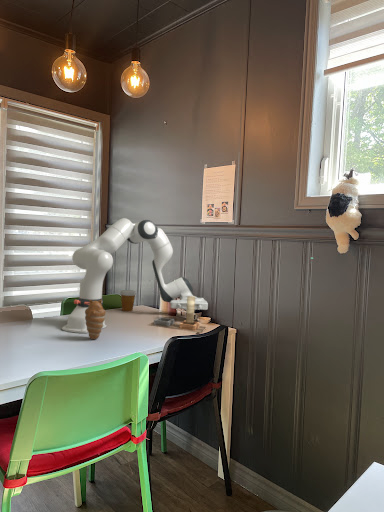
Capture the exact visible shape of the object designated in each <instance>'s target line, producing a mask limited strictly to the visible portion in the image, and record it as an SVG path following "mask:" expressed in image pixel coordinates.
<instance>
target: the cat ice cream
mask: <svg viewBox="0 0 384 512" xmlns="http://www.w3.org/2000/svg"><path fill="white" fill-rule="evenodd" d="M101 302H102V300H99V301H92V300H89V303H90V304H89V307H88V308H87V309H86V310H85V314H86V316H85V320H86V326H87V331H88V337H89V338H90V339H91V340H97V339H99V338H100V335H101V332H102V329H103V328H102V327H103V322H104V323H105V319H106V318H105V315H106V314H107V313H106V310H105V308H104V307H103V304H102V305H101ZM101 328H102V329H101Z"/></svg>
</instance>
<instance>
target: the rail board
mask: <svg viewBox="0 0 384 512" xmlns="http://www.w3.org/2000/svg"><path fill="white" fill-rule="evenodd" d="M147 326H151V327H157V328H164V329H172V330H179V331H187V332H192V333H195V335H197V334H200V333H201V334H202V333H203V332H204V331H205V330H206V329H205V328H207V327H206V326H201V324H200V322H199V321H194V325H190V324H186V319H185V320H183V321H181V322H180V323H179V322H175V318H170V317H169V318H168V317H162V316H160V317H157V318H156V319H154V320H153V321H152V322H151V323H149V324H147ZM204 329H205V330H204ZM203 330H204V331H203ZM202 331H203V332H202ZM201 334H200V335H201Z"/></svg>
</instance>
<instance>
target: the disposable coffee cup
mask: <svg viewBox="0 0 384 512" xmlns="http://www.w3.org/2000/svg"><path fill="white" fill-rule="evenodd" d="M119 294H120V296H121V297H120V298H121V299H120V300H121V310H122V311H123V312H126V313H127V312H133V309H134V304H135V298H136V295H137V293H136V290H132V289H122V290H120V293H119Z"/></svg>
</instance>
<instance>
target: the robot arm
mask: <svg viewBox="0 0 384 512" xmlns="http://www.w3.org/2000/svg"><path fill="white" fill-rule="evenodd" d="M126 241H128V242H129V243H131V244H132V245H133V244H134V245H136V244H140V243H143V242H146V243H148V244H149V246H150V248H151V250H152V252H153V259H152V262H151V264H152V268H153V272H154V276H155V278H156V279H155V280H156V284H157V285H158V291H159V296H160V298H161V300H162V301H163V302H166V303H169V304H170V309H175V310H183V311H185V312H187V297H188V296H193V297H195V309H194V311H196V310H197V311H198V310H199V311H200V310H204V311H206V310H208V308H209V303H208V301H207V300H206V299H204V297H201V296H200V297H198V296H197V295H196V296H195V295H193V293H194V289H193V287H192V285H191V282H190V281H189V279H187V278H186V277H183V276H182V277H179V278H177V279H175V280H173V281H171V282H169V283H167V284H166V283H165V280H164V276H163V273H162V269H163V267H164V266H165V265H166V264H167V263H168V262H169V261H170V259H172V256H173V253H174V249H173V246H172V243H171V242H170V239H169V238H168V236H167V234H166V232H164V230H163V229H162V228H160V227H158V226H157V225H156V224H155V223H154V222H153V221H152V220H150V219H142V220H141V221H138V222H135V223H133V222H132V221H131V220H130V219H129V218H126V217H122V218H120V219H118V220H117V221H115V222H114V223H112V225H110V226H109V227H108V228H107V229H106V230H105V231H104V232H103V233H102V234H101V235H100V236H98V237H97V238H96V239H94V240H93V241H90V242H89V243H88V244H86V245H84V246H83V247H81V248H78V249H76V250H75V251H74V252H73V253H72V258H71V259H72V260H71V261H72V262H73V264H74V266H76V267H77V268H80V269H82V270H85V274H84V277H83V278H82V280H80V282H79V295H78V299H74V300H73V304H74V305H76V307H75V308H73V310H72V312H71V313H70V314H69V315H68V317H67V324H66V325H63V326H62V327H61V330H63V331H64V332H69V333H78V334H87V333H88V334H89V332H88V331H87V326H86V320H85V316H86V314H85V310H86V309H87V308H88V307H89V304H90V303H89V300H92V301H99V300H102V302H101V305H102V306H103V304H104V303H103V301H104V300H103V299H104V298H103V285H104V280H105V277H106V274H107V273H108V271H110V270H111V269H112V267H113V264H114V258H113V256H112V254H114V253H115V252H117V250H118V249H120V247H122V245H123V244H124V243H125V242H126ZM178 298H179V299H178ZM105 328H107V324H105V321H104V322H103V327H102V328H101V330H102V329H105Z"/></svg>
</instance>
